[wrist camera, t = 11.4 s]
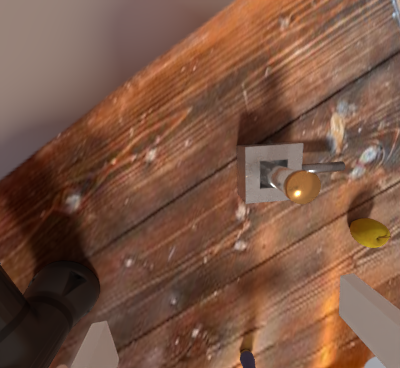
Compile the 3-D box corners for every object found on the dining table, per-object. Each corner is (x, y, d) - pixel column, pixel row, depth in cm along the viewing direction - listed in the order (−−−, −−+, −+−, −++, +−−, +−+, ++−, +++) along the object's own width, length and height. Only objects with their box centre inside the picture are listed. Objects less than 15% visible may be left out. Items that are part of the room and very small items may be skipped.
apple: (370, 213, 48) (405, 228, 40) (362, 237, 50) (394, 255, 42) (346, 211, 48) (377, 226, 40) (338, 235, 49) (367, 253, 41)
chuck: (237, 194, 45) (245, 203, 38) (236, 145, 42) (245, 147, 36) (325, 186, 46) (347, 195, 39) (330, 139, 43) (354, 139, 37)
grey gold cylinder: (250, 167, 41) (282, 184, 27) (270, 155, 40) (312, 164, 27) (261, 186, 42) (297, 210, 28) (280, 173, 42) (325, 192, 28)
